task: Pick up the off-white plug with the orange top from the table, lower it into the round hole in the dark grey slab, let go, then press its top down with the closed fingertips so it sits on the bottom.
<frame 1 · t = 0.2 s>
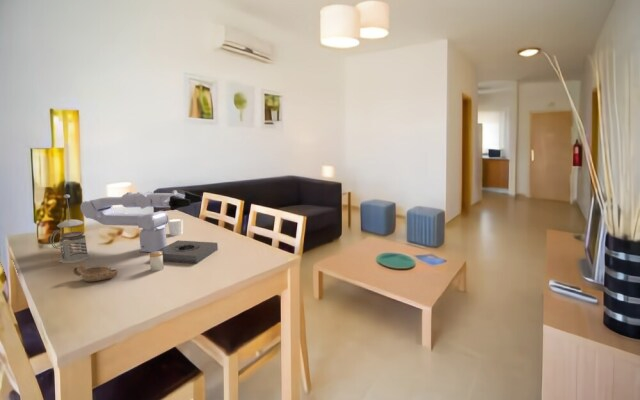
hand: (195, 200, 125), 21 cm above the table, tool horizontal, fingers open, 7 cm apart
french press: (73, 259, 121), on the table
plug: (157, 269, 112), on the table
oil lamp: (96, 280, 103), on the table
cream tapered cylinder: (176, 234, 155), on the table
dark grey slab: (186, 254, 126), on the table
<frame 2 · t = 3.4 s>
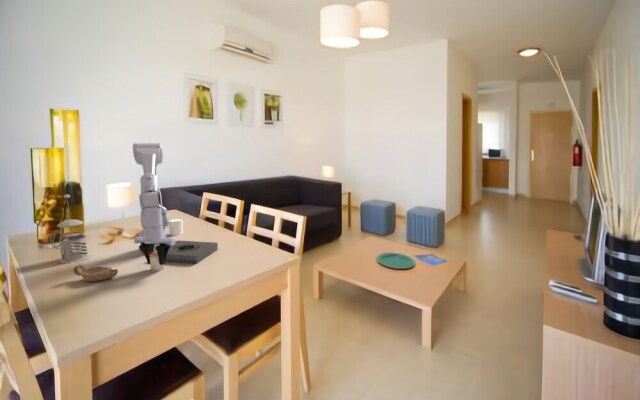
hand: (156, 263, 111), 2 cm above the table, tool pointing down, fingers closed on plug, 4 cm apart
plug: (157, 269, 112), on the table, touching gripper
everything else where it was.
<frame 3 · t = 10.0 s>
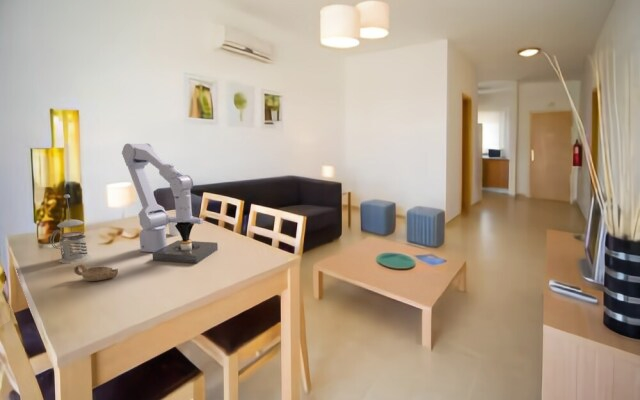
hand: (186, 240, 125), 6 cm above the table, tool pointing down, fingers closed, pressing on plug
plug: (186, 255, 126), resting in dark grey slab, touching gripper
everything else where it was.
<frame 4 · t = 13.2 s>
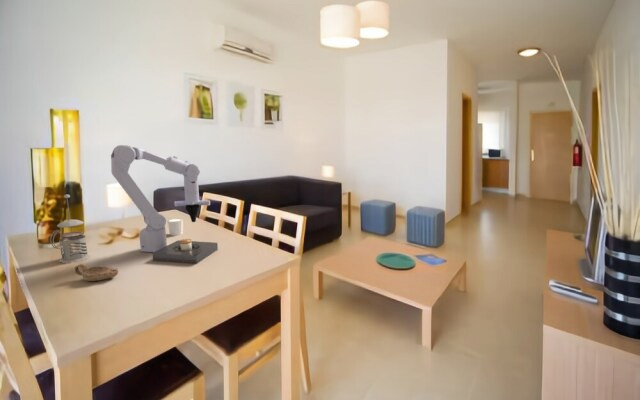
hand: (193, 221, 141), 9 cm above the table, tool pointing down, fingers closed
plug: (186, 254, 126), resting in dark grey slab
everything else where it was.
at the end: plug 0.1 cm off-centre on the dark grey slab, point 0.0 cm above the dark grey slab's base; plug tilted 0°; the gripper is holding nothing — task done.
